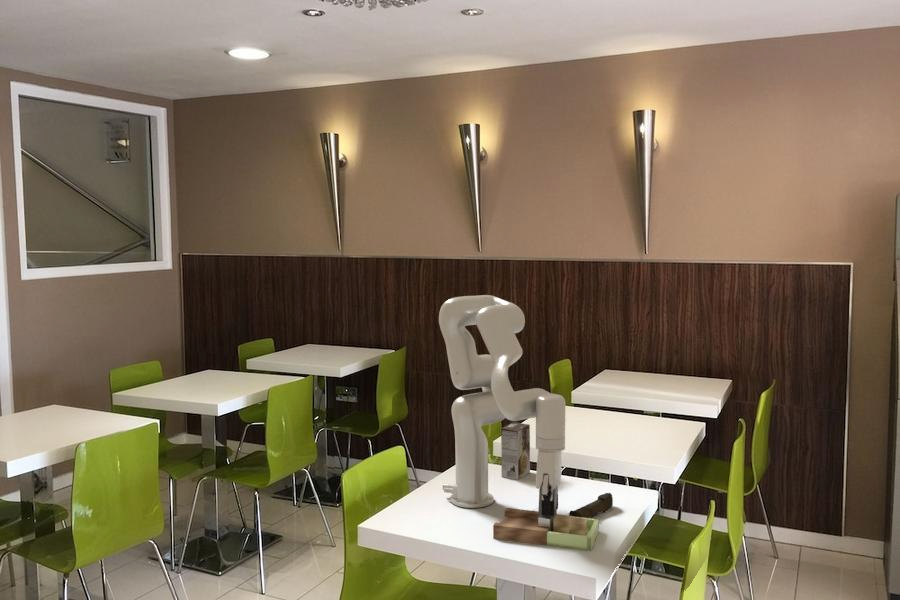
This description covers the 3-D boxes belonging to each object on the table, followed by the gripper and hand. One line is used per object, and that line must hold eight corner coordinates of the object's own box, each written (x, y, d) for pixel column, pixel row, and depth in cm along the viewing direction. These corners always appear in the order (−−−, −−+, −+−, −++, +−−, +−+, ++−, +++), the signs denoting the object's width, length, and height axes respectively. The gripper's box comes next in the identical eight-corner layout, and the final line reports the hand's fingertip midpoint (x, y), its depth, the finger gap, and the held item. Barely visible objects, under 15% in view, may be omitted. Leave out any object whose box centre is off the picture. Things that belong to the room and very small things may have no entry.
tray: (547, 545, 192) (547, 532, 192) (557, 526, 204) (557, 514, 204) (591, 550, 189) (591, 538, 188) (598, 531, 201) (598, 519, 201)
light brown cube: (553, 534, 196) (553, 519, 196) (556, 528, 200) (556, 514, 200) (568, 536, 195) (569, 521, 195) (571, 530, 199) (571, 515, 198)
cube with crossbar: (535, 530, 196) (538, 484, 194) (542, 519, 203) (544, 475, 202) (551, 532, 194) (553, 487, 193) (557, 521, 202) (559, 477, 201)
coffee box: (512, 469, 254) (512, 421, 253) (530, 472, 251) (530, 423, 250) (500, 477, 246) (500, 427, 245) (518, 480, 243) (518, 430, 242)
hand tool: (580, 527, 204) (580, 510, 204) (568, 523, 207) (568, 506, 207) (620, 509, 217) (620, 493, 217) (608, 506, 220) (608, 490, 220)
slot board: (493, 538, 197) (493, 524, 196) (506, 520, 209) (506, 507, 209) (547, 545, 192) (547, 531, 192) (557, 526, 204) (557, 513, 204)
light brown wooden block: (568, 538, 195) (568, 522, 195) (571, 532, 199) (571, 517, 198) (584, 540, 194) (584, 524, 193) (587, 534, 197) (587, 519, 197)
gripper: (543, 433, 206) (542, 499, 207) (528, 450, 190) (528, 521, 191) (570, 435, 203) (570, 502, 205) (558, 452, 187) (557, 525, 189)
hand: (549, 511), depth 198 cm, fingers closed on cube with crossbar, 4 cm apart
